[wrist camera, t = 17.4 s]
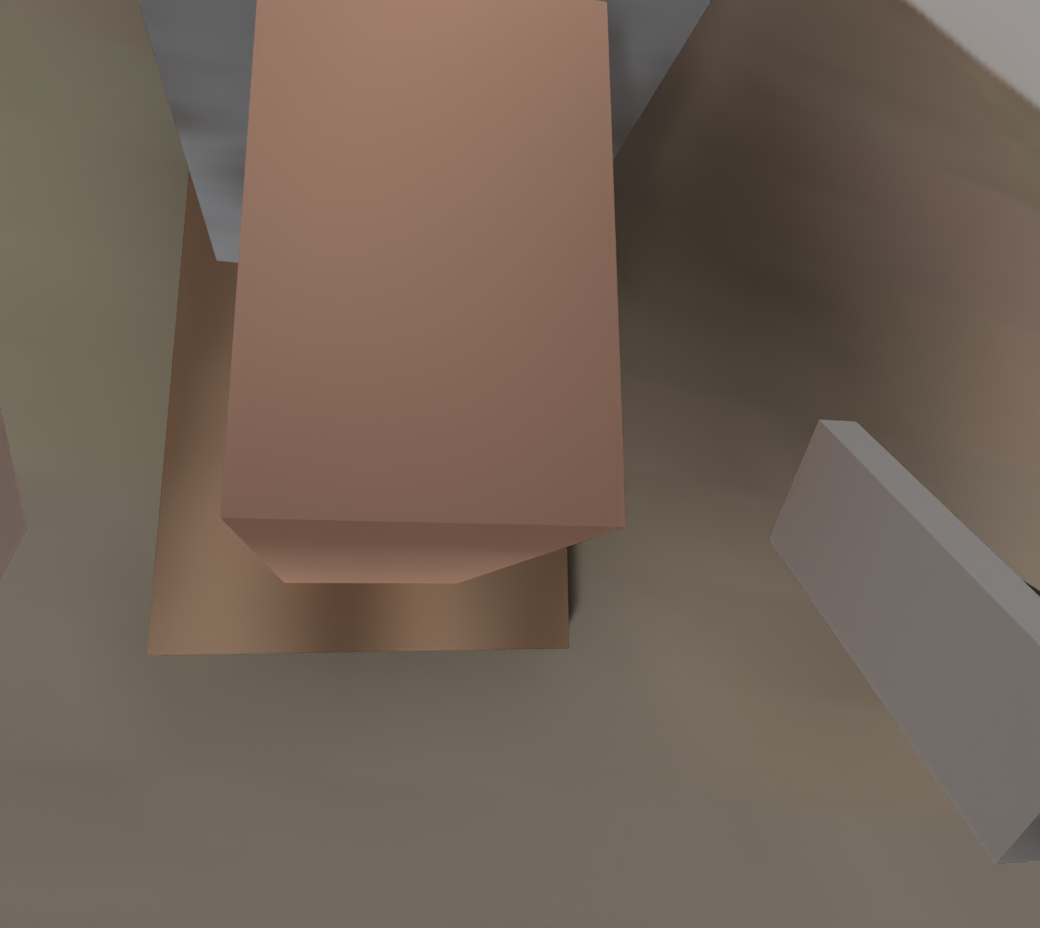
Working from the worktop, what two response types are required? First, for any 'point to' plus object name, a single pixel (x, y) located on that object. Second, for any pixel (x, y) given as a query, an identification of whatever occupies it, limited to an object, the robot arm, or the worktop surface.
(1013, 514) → the worktop surface
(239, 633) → the book rack
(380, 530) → the terracotta book
